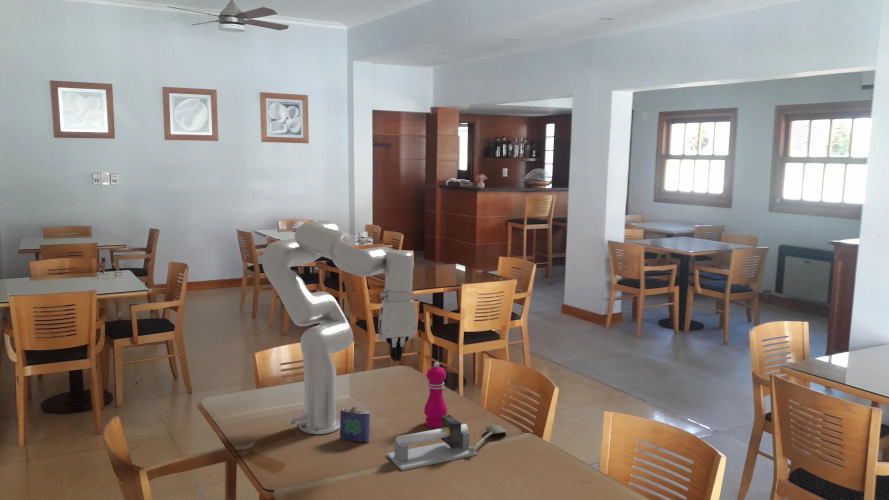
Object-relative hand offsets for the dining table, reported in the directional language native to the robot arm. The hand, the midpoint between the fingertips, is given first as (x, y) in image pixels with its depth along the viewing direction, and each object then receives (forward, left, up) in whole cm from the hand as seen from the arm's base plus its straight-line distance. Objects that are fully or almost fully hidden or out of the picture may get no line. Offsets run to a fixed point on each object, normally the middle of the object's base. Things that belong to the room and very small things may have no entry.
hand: (395, 359), depth 189 cm
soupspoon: (+26, -8, -26) cm, 37 cm away
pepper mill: (+19, +11, -26) cm, 34 cm away
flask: (-8, +10, -26) cm, 30 cm away
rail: (+8, -9, -26) cm, 29 cm away
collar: (+13, -9, -24) cm, 28 cm away
